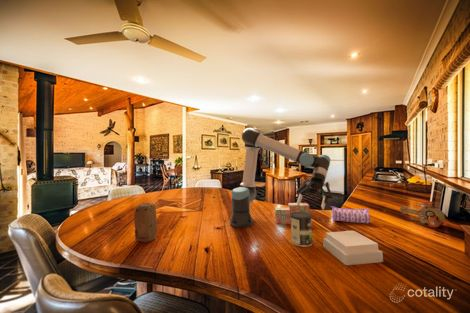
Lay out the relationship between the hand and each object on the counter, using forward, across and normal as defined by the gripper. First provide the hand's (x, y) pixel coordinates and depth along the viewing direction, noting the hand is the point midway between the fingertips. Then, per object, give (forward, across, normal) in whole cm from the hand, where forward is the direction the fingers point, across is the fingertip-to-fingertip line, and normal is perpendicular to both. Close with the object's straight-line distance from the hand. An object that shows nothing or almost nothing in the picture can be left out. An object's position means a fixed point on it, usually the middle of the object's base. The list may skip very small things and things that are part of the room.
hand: (309, 206), depth 103 cm
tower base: (+17, -21, -6) cm, 27 cm away
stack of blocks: (+3, +18, -20) cm, 27 cm away
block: (+56, +66, +33) cm, 93 cm away
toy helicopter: (-31, -44, -54) cm, 77 cm away
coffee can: (+19, 0, -4) cm, 19 cm away
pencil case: (-14, -11, -38) cm, 42 cm away
